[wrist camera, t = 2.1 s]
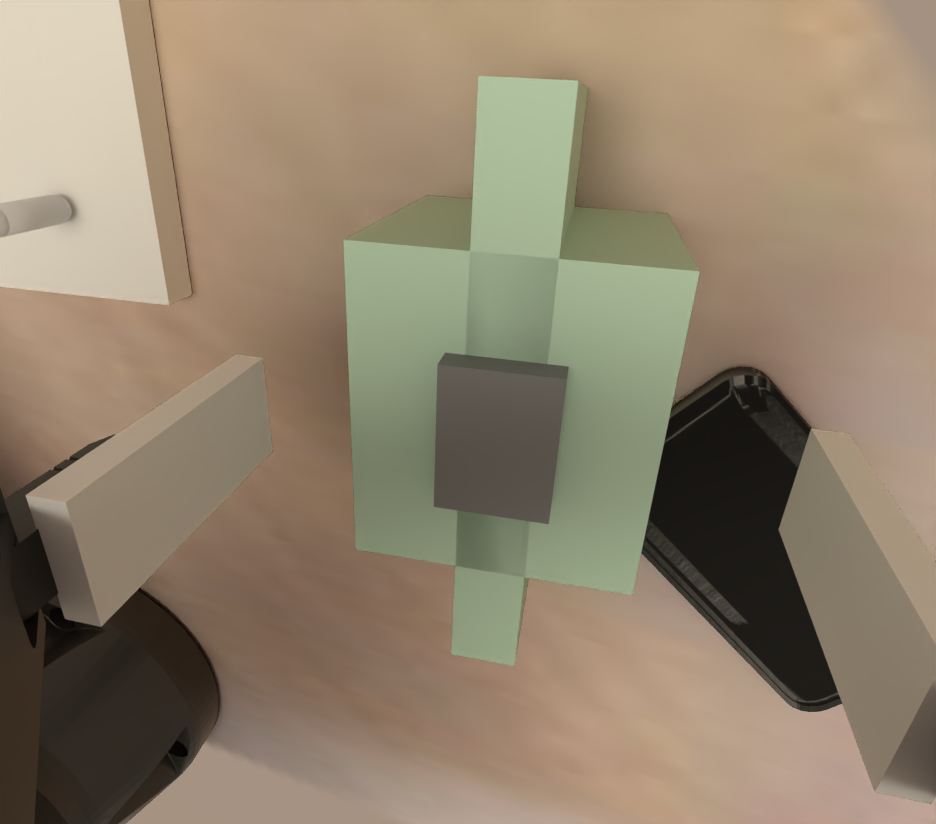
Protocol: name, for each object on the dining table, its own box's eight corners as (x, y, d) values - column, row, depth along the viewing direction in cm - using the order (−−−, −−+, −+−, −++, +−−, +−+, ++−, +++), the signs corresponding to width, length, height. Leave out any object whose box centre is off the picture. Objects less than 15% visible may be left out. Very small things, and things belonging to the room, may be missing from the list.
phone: (753, 361, 21) (992, 644, 24) (746, 350, 22) (976, 622, 25) (571, 485, 25) (800, 720, 28) (572, 470, 26) (793, 699, 29)
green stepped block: (611, 527, 26) (614, 706, 19) (422, 499, 28) (350, 656, 20) (689, 92, 19) (746, 87, 11) (429, 80, 20) (321, 67, 13)
